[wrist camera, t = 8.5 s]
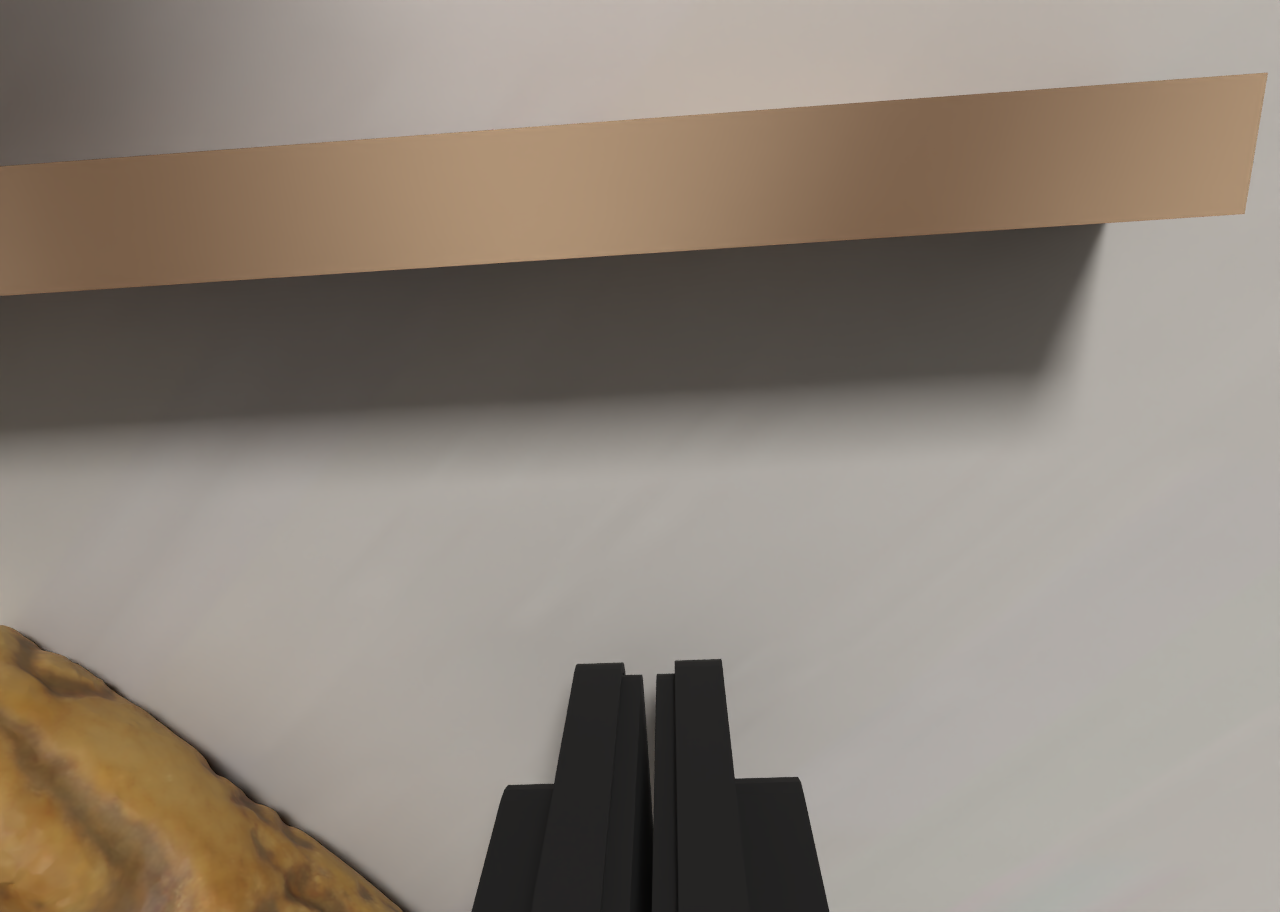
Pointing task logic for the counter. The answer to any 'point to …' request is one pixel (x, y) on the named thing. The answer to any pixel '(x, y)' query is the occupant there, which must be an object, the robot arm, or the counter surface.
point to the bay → (635, 186)
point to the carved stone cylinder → (137, 811)
